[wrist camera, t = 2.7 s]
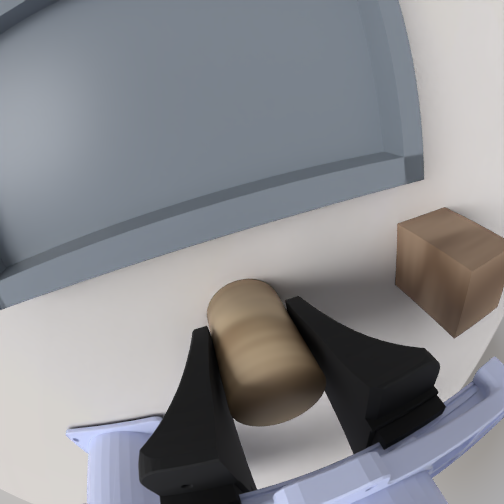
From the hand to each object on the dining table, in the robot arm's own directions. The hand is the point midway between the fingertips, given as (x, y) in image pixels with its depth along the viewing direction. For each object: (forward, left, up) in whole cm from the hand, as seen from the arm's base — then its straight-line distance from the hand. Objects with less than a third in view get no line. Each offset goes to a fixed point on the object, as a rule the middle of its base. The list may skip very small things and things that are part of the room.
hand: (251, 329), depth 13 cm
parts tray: (+11, +1, -1) cm, 11 cm away
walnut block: (0, -11, -2) cm, 11 cm away
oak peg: (0, 0, -1) cm, 1 cm away
